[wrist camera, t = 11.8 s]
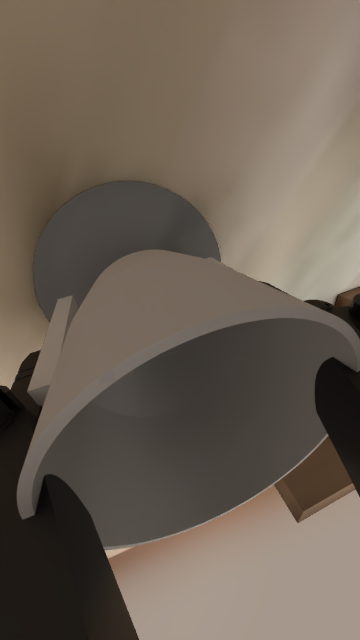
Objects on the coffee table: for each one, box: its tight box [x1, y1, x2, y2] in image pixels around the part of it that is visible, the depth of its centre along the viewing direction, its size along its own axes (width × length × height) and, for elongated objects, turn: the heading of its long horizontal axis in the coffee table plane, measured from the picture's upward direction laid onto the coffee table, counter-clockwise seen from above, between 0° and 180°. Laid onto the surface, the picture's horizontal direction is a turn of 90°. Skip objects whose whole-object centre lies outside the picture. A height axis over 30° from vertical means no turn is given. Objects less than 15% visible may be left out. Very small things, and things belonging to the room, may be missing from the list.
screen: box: [274, 287, 360, 523], centre depth 18 cm, size 6×20×12 cm, turn 101°
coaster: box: [33, 181, 221, 322], centre depth 15 cm, size 12×12×1 cm
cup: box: [17, 250, 360, 550], centre depth 9 cm, size 8×8×10 cm
